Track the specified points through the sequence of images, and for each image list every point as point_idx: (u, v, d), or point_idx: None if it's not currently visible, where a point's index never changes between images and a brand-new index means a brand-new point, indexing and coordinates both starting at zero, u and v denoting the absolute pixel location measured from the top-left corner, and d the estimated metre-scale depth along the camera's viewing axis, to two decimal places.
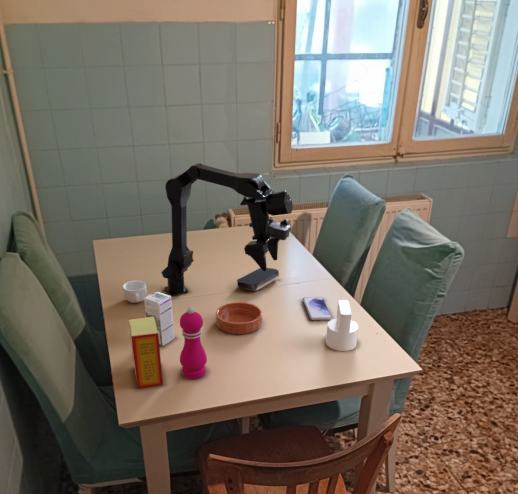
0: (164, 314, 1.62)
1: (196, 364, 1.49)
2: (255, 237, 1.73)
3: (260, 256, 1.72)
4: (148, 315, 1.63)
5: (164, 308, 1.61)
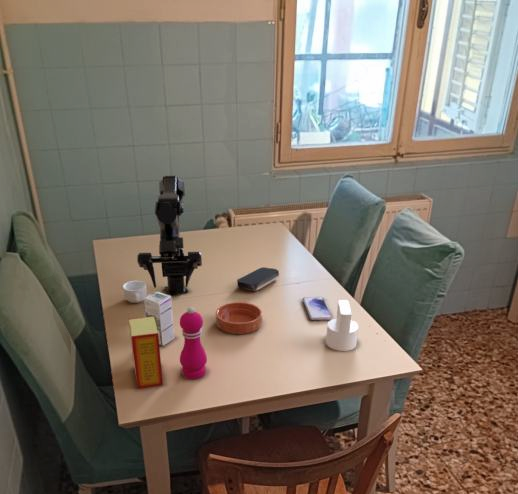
0: (164, 314, 1.62)
1: (196, 364, 1.49)
2: None
3: None
4: (148, 315, 1.63)
5: (164, 308, 1.61)
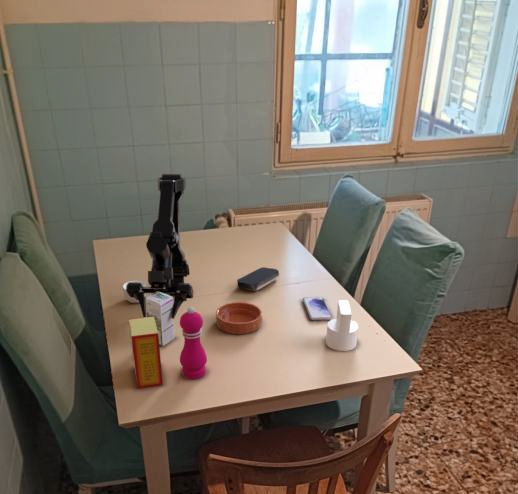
0: (165, 315, 1.62)
1: (196, 364, 1.49)
2: None
3: None
4: (149, 315, 1.62)
5: (166, 308, 1.61)
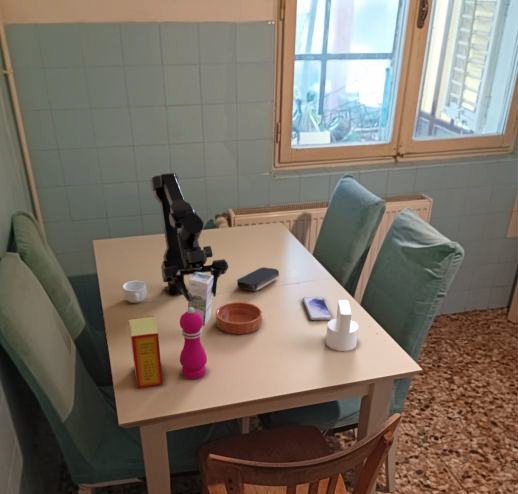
0: (209, 294, 1.63)
1: (196, 364, 1.49)
2: None
3: None
4: (192, 296, 1.62)
5: (209, 287, 1.62)
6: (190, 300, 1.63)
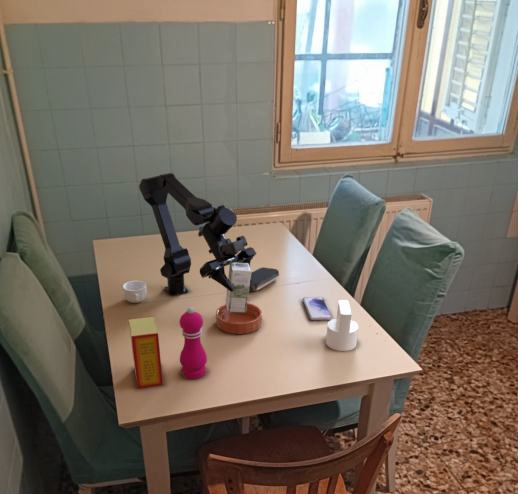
0: None
1: (196, 364, 1.49)
2: None
3: (220, 276, 1.67)
4: (234, 286, 1.68)
5: None
6: (233, 290, 1.69)
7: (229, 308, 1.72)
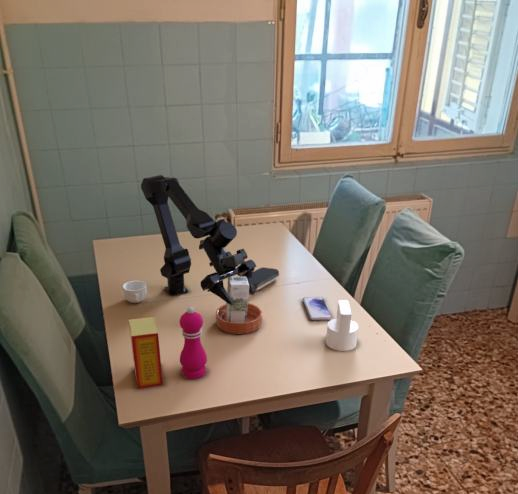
0: None
1: (196, 364, 1.49)
2: None
3: (219, 289, 1.69)
4: (233, 300, 1.70)
5: None
6: (232, 304, 1.71)
7: (229, 321, 1.74)
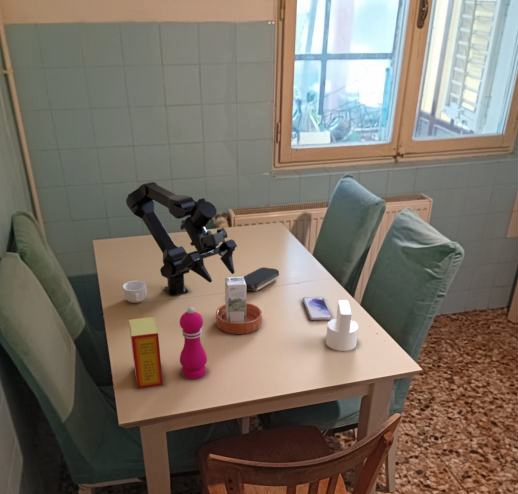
0: None
1: (196, 364, 1.49)
2: None
3: (200, 268, 1.72)
4: (231, 300, 1.70)
5: None
6: (230, 304, 1.71)
7: None
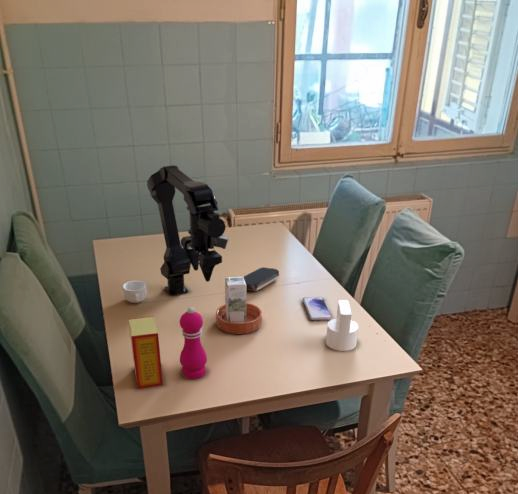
0: None
1: (196, 364, 1.49)
2: (198, 248, 1.69)
3: (209, 266, 1.70)
4: (231, 300, 1.70)
5: None
6: (230, 304, 1.71)
7: None
